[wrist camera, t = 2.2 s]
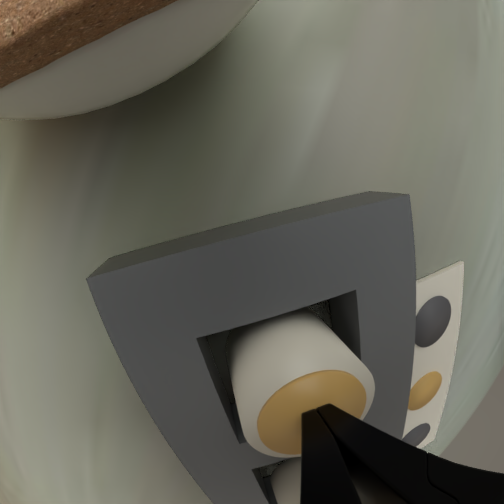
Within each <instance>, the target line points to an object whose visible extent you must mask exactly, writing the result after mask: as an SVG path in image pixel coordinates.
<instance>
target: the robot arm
mask: <svg viewBox="0 0 504 504" xmlns="http://www.w3.org/2000/svg"><path fill="white" fill-rule="evenodd" d="M300 504H504V474H503V473H497V472H492V471H486V470H481V469H477V468H472V467H468V466H464V465H461V464H457V463H454V462H451V461H448V460H446V459H443V458H440V457H438V456H436V455H434V454H431V453H427V452H426V451H424V450H422V449H420V448H417V447H415V446H413V445H411V444H409V443H406V442H404V441H402V440H400V439H398V438H396V437H394V436H392V435H390V434H388V433H386V432H384V431H382V430H380V429H378V428H376V427H374V426H372V425H370V424H368V423H366V422H364V421H362V420H360V419H358V418H356V417H355V416H353V415H351V414H349V413H347V412H345V411H343V410H342V409H340V408H338V407H336V406H334V405H333V404H330V403H328V404H325V405H322V406H320V407H317V408H316V409H311V410H309V411H306V412H303V413H302V414H301V489H300Z"/></svg>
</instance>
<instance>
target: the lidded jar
mask: <svg viewBox="0 0 504 504" xmlns="http://www.w3.org/2000/svg"><path fill="white" fill-rule="evenodd" d="M258 1H259V0H0V119H4V120H36V119H53V118H62V117H67V116H73V115H79V114H84V113H87V112H91V111H94V110H97V109H101V108H104V107H108V106H111V105H113V104H116V103H118V102H121V101H123V100H126V99H128V98H131V97H133V96H136V95H138V94H141V93H143V92H145V91H147V90H149V89H150V88H152V87H154V86H156V85H158V84H160V83H162V82H165V81H166V80H168V79H169V78H171V77H172V76H174V75H176V74H177V73H179V72H180V71H182V70H184V69H185V68H187V67H189V66H190V65H192V64H193V63H195V62H196V61H197V60H198V59H200V58H201V57H202V56H204V55H205V54H206V53H208V52H209V51H210V50H212V49H213V48H214V47H216V46H217V45H218V44H219V43H220V42H221V41H222V40H223V39H224V38H225V37H226V36H227V35H228V34H229V33H230V32H231V31H232V30H233V29H234V28H235V27H236V26H237V25H238V24H239V23H240V22H241V21H242V20H243V19H244V18H245V17H246V15H247V14H248V13H249V12H250V10H251V9H252V8H253V7H254V5H255V4H256V3H257V2H258Z"/></svg>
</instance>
